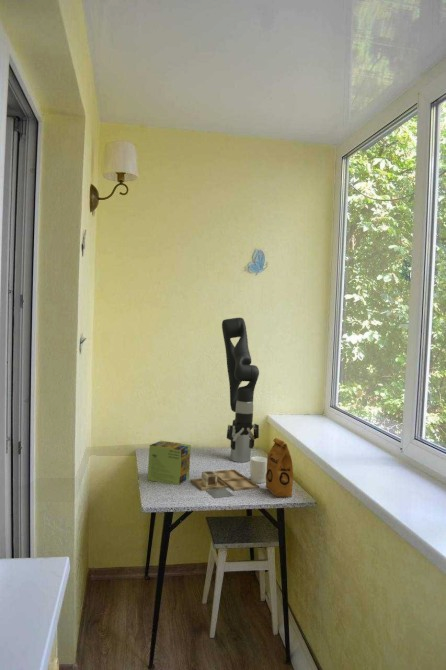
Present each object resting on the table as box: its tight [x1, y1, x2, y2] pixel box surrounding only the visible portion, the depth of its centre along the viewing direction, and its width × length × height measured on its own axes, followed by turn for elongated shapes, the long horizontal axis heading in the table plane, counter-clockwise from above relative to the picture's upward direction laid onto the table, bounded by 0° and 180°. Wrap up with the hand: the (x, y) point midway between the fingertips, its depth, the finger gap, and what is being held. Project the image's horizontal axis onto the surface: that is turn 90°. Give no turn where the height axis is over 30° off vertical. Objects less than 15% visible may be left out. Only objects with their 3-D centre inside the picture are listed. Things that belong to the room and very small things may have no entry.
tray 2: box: [213, 469, 246, 481], centre depth 233 cm, size 12×12×1 cm
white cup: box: [249, 456, 267, 484], centre depth 230 cm, size 8×8×10 cm
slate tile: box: [204, 488, 235, 499], centre depth 210 cm, size 9×9×1 cm
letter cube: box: [201, 470, 217, 487], centre depth 220 cm, size 5×5×5 cm
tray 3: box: [222, 476, 260, 492], centre depth 222 cm, size 12×12×1 cm
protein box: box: [147, 440, 192, 486], centre depth 224 cm, size 10×15×16 cm
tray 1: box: [190, 477, 229, 492], centre depth 220 cm, size 12×12×1 cm
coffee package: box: [265, 437, 294, 498], centre depth 216 cm, size 10×12×22 cm
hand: (242, 448), depth 221 cm, fingers open, 8 cm apart
